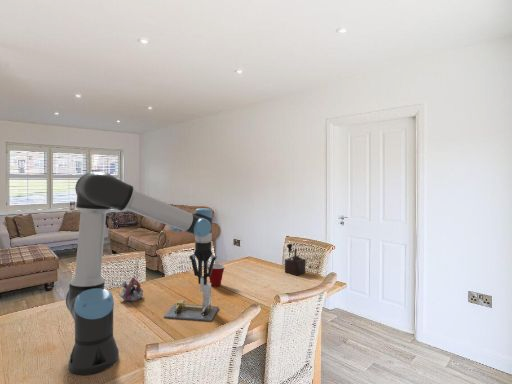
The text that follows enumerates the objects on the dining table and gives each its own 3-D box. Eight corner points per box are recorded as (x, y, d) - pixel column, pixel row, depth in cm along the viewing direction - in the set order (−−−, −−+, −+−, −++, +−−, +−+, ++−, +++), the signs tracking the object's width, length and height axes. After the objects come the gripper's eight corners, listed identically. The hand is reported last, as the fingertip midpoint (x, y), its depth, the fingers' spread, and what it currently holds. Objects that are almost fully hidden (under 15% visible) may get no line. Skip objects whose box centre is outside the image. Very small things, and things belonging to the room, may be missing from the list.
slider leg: (206, 315, 142) (206, 288, 141) (199, 315, 142) (200, 288, 142) (211, 307, 150) (211, 282, 150) (205, 307, 151) (205, 282, 150)
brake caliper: (136, 300, 154) (124, 279, 155) (121, 310, 157) (110, 289, 158) (150, 292, 164) (139, 272, 166) (136, 302, 167) (125, 282, 169)
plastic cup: (228, 284, 185) (229, 264, 184) (215, 289, 176) (216, 269, 176) (215, 280, 192) (216, 261, 191) (202, 285, 183) (202, 265, 182)
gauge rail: (208, 316, 141) (209, 309, 141) (170, 313, 143) (170, 306, 143) (213, 308, 150) (213, 302, 150) (177, 305, 152) (177, 299, 152)
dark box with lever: (306, 272, 212) (307, 246, 211) (296, 276, 204) (297, 249, 204) (288, 267, 223) (289, 242, 222) (278, 270, 215) (279, 245, 214)
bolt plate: (211, 321, 138) (211, 319, 138) (163, 317, 141) (163, 315, 141) (218, 308, 152) (218, 306, 152) (175, 305, 155) (175, 303, 155)
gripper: (218, 240, 150) (217, 288, 151) (192, 239, 151) (191, 286, 152) (215, 243, 142) (214, 294, 144) (187, 242, 144) (186, 292, 145)
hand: (202, 290), depth 148 cm, fingers closed
